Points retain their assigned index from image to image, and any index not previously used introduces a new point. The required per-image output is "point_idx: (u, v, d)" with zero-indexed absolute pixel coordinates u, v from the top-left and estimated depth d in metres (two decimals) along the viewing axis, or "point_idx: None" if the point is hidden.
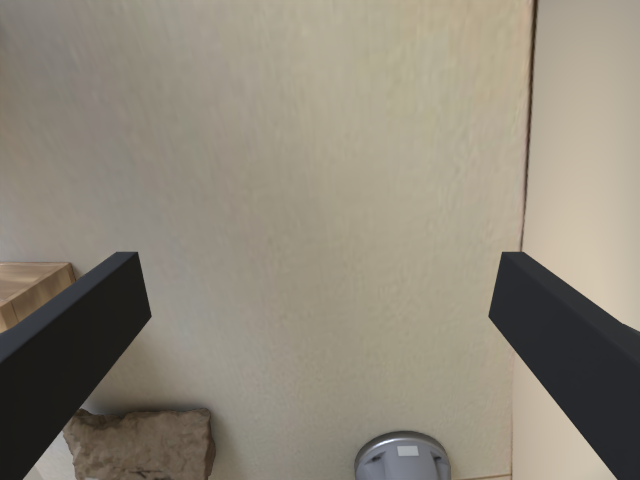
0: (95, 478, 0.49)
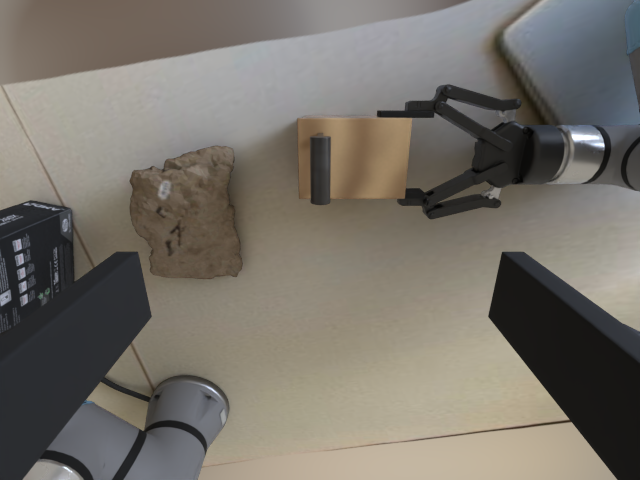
0: (170, 191, 0.46)
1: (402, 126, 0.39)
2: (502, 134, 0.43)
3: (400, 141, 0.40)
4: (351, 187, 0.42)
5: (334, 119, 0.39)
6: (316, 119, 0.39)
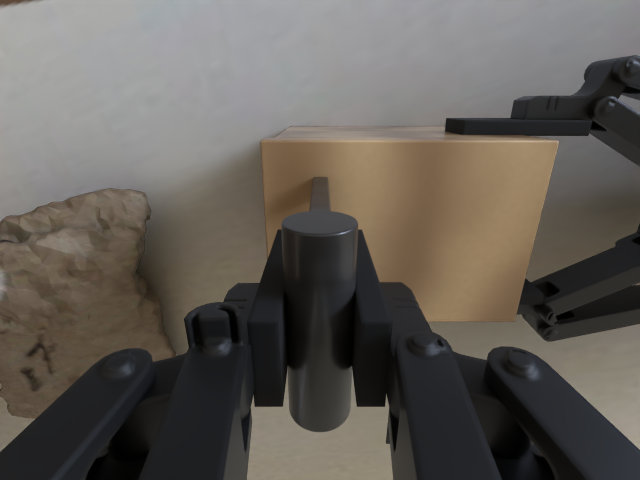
0: (5, 286, 0.22)
1: (531, 160, 0.15)
2: None
3: (521, 197, 0.16)
4: None
5: (356, 143, 0.15)
6: (310, 143, 0.15)
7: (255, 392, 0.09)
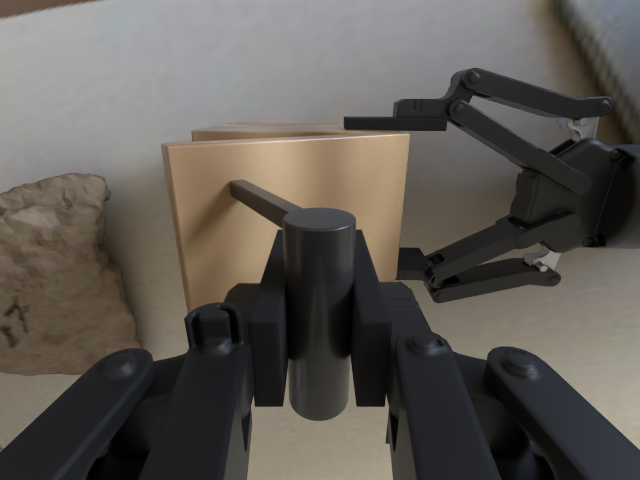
0: None
1: (395, 150, 0.19)
2: (572, 162, 0.23)
3: (392, 179, 0.20)
4: None
5: (268, 143, 0.15)
6: (222, 146, 0.14)
7: (255, 392, 0.09)
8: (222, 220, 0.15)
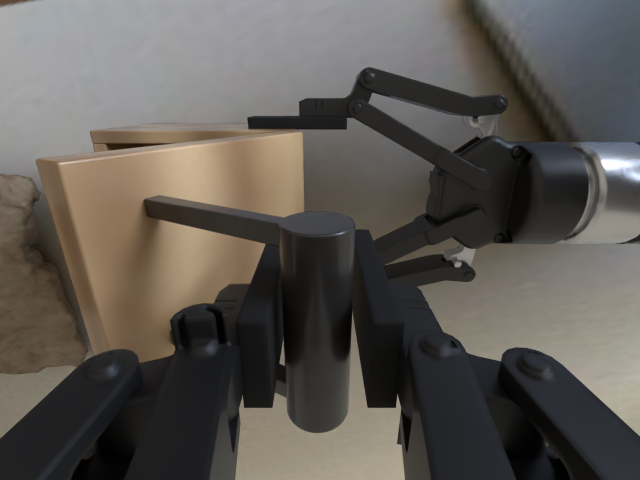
0: None
1: (293, 148, 0.20)
2: (474, 159, 0.24)
3: (294, 178, 0.20)
4: None
5: (180, 150, 0.13)
6: (130, 156, 0.11)
7: (244, 393, 0.09)
8: (140, 249, 0.12)
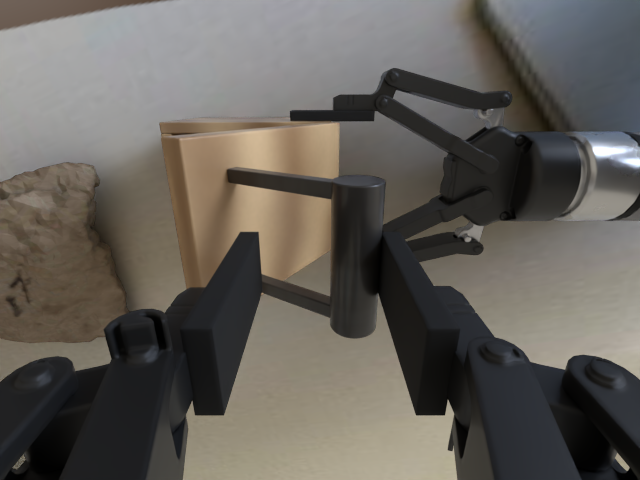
0: None
1: (332, 136, 0.24)
2: (483, 146, 0.27)
3: (331, 161, 0.24)
4: (286, 259, 0.22)
5: (251, 133, 0.17)
6: (220, 136, 0.16)
7: (194, 400, 0.09)
8: (223, 206, 0.17)
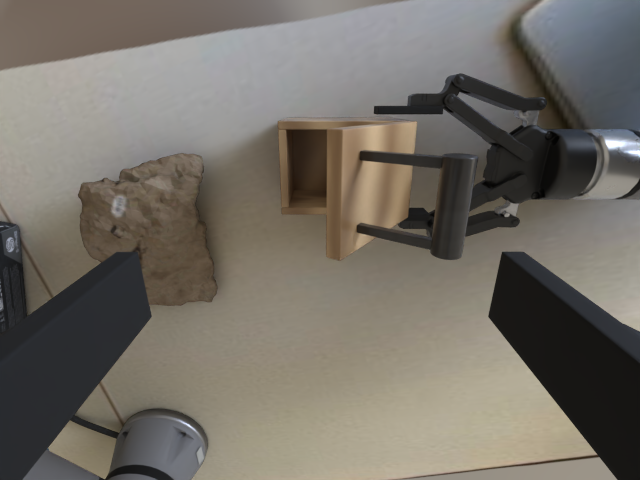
0: (125, 207, 0.39)
1: (412, 131, 0.32)
2: (521, 140, 0.36)
3: (410, 150, 0.32)
4: (380, 221, 0.30)
5: (373, 127, 0.26)
6: (359, 129, 0.24)
7: None
8: (355, 176, 0.25)
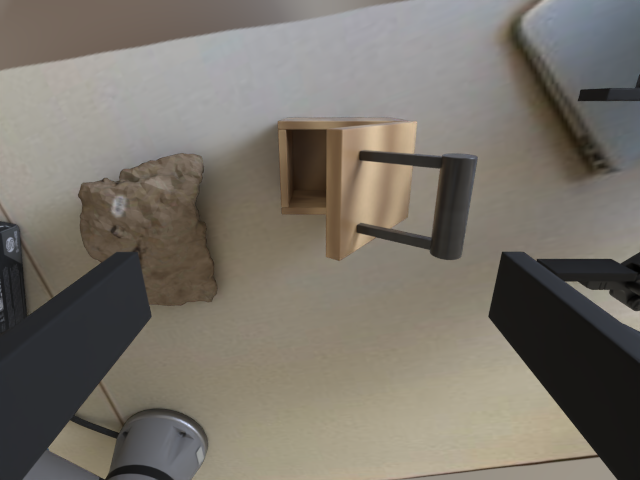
0: (125, 207, 0.39)
1: (412, 131, 0.32)
2: None
3: (410, 150, 0.32)
4: (380, 221, 0.30)
5: (372, 127, 0.25)
6: (359, 129, 0.24)
7: None
8: (355, 176, 0.25)
